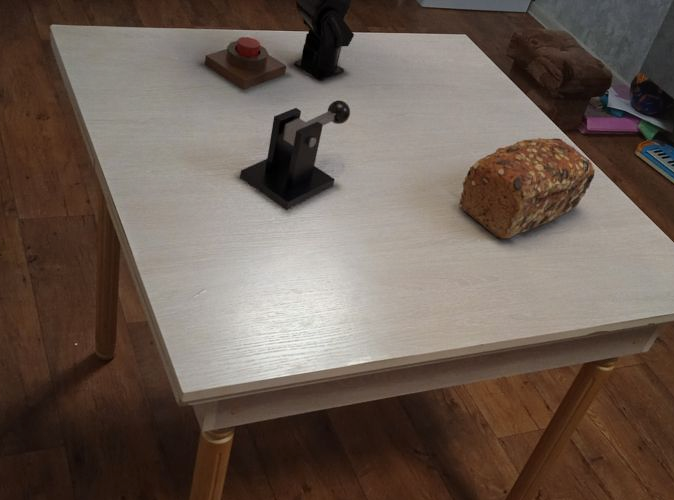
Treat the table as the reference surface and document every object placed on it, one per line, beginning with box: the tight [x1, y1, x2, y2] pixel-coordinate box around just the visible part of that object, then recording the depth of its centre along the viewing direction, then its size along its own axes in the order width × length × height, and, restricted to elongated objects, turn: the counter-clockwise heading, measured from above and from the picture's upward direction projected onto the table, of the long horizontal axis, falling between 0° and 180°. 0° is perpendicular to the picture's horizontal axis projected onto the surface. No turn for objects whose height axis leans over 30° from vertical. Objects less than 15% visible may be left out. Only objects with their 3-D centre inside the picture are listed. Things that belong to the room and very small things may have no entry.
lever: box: [283, 99, 351, 146], centre depth 114 cm, size 12×3×3 cm, turn 140°
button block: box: [204, 40, 287, 90], centre depth 136 cm, size 10×9×4 cm
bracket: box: [239, 107, 335, 210], centre depth 114 cm, size 10×9×10 cm
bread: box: [459, 137, 596, 239], centre depth 121 cm, size 19×11×10 cm, turn 131°
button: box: [237, 36, 261, 57], centre depth 135 cm, size 4×4×2 cm
